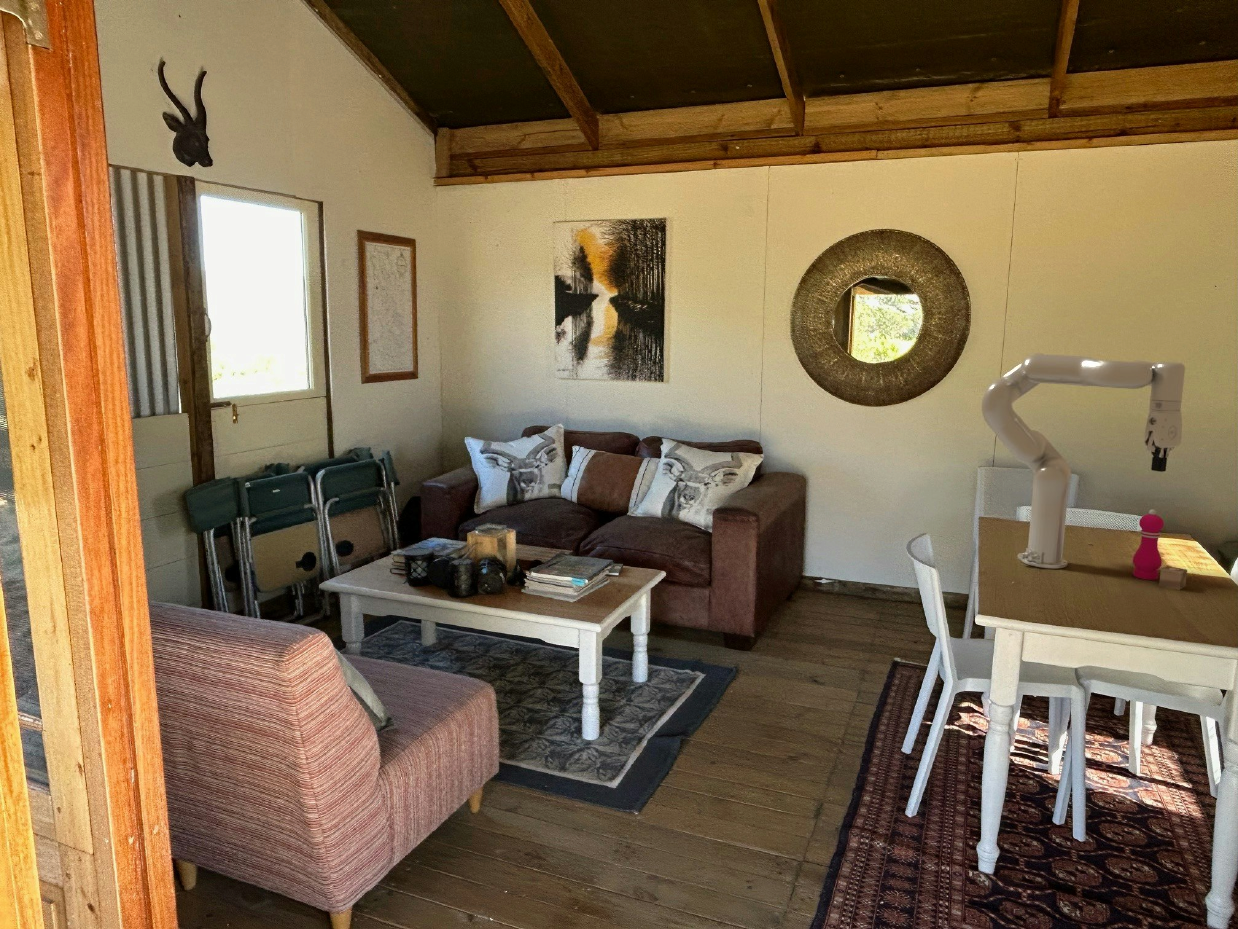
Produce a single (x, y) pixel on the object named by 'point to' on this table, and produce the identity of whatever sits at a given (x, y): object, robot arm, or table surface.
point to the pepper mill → (1148, 547)
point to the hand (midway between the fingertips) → (1158, 470)
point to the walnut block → (1173, 577)
